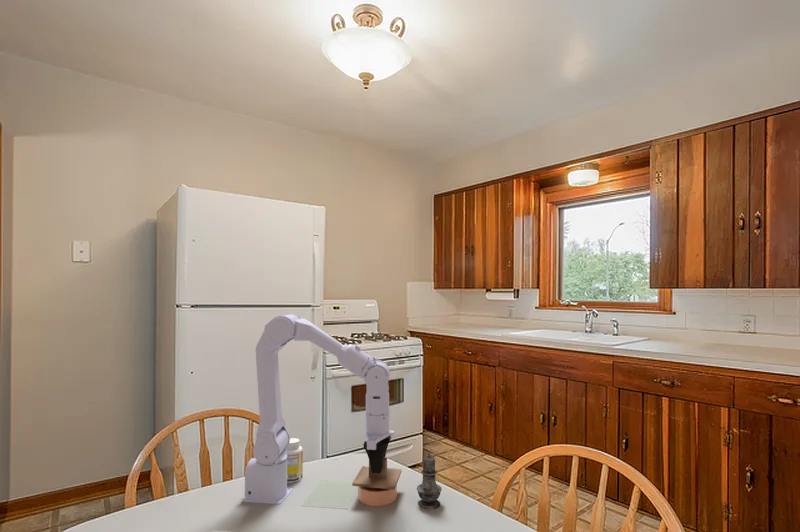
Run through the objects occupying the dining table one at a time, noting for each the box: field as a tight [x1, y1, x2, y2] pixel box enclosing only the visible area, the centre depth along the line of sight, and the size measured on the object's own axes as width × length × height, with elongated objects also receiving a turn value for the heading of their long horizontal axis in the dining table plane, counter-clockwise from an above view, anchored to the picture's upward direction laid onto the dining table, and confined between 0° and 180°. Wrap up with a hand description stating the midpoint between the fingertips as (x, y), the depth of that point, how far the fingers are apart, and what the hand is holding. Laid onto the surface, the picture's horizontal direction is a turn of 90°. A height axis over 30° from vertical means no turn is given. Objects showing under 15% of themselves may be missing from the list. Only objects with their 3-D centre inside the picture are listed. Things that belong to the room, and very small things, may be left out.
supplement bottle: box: [285, 437, 304, 484], centre depth 120 cm, size 6×6×10 cm
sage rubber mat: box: [301, 479, 358, 510], centre depth 111 cm, size 11×14×1 cm
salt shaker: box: [416, 451, 442, 511], centre depth 106 cm, size 6×6×12 cm
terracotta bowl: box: [357, 484, 398, 507], centre depth 109 cm, size 9×9×4 cm
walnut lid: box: [352, 457, 402, 489], centre depth 109 cm, size 10×10×5 cm
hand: (377, 469), depth 109 cm, fingers closed on walnut lid, 2 cm apart
